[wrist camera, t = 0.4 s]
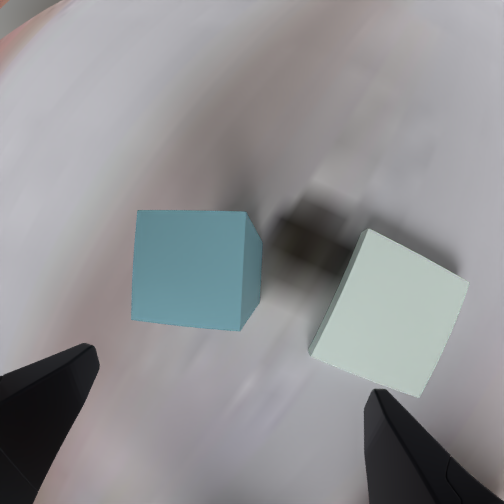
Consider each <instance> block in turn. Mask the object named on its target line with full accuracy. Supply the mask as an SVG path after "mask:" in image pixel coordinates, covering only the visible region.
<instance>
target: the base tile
mask: <svg viewBox="0 0 504 504" xmlns="http://www.w3.org/2000/svg"><path fill="white" fill-rule="evenodd" d="M469 284H470V283H469V282H468V281H466V280H464V279H462V278H461V277H459V276H457V275H456V274H454V273H452V272H450V271H449V270H447V269H445V268H443V267H441V266H440V265H438V264H436V263H434V262H432V261H431V260H429V259H427V258H425V257H423V256H421V255H419V254H418V253H416V252H414V251H412V250H410V249H408V248H406V247H404V246H402V245H401V244H399V243H397V242H395V241H393V240H391V239H389V238H387V237H385V236H383V235H381V234H379V233H377V232H375V231H373V230H371V229H369V228H368V229H366V230H364V231H363V232H361V235H360V237H359V240H358V242H357V244H356V247H355V249H354V252H353V254H352V257H351V259H350V261H349V264H348V266H347V268H346V271H345V273H344V275H343V278H342V280H341V282H340V284H339V287H338V289H337V291H336V293H335V295H334V298H333V300H332V302H331V304H330V306H329V308H328V311H327V313H326V315H325V317H324V319H323V321H322V323H321V325H320V327H319V329H318V331H317V333H316V335H315V337H314V339H313V341H312V343H311V345H310V347H309V349H308V351H309V354H310V357H312V358H314V359H317V360H319V361H322V362H324V363H326V364H329V365H331V366H334V367H336V368H339V369H341V370H344V371H346V372H349V373H351V374H354V375H357V376H359V377H362V378H364V379H367V380H370V381H372V382H375V383H378V384H380V385H383V386H386V387H389V388H391V389H394V390H397V391H400V392H403V393H405V394H408V395H411V396H414V397H417V398H419V397H420V395H421V393H422V392H423V390H424V388H425V386H426V384H427V382H428V380H429V379H430V377H431V375H432V373H433V371H434V369H435V367H436V365H437V363H438V360H439V358H440V356H441V354H442V352H443V350H444V348H445V345H446V343H447V341H448V339H449V336H450V334H451V332H452V329H453V327H454V324H455V322H456V319H457V317H458V314H459V312H460V309H461V306H462V304H463V301H464V298H465V295H466V293H467V290H468V287H469Z"/></svg>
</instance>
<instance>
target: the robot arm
mask: <svg viewBox="0 0 504 504" xmlns="http://www.w3.org/2000/svg"><path fill="white" fill-rule="evenodd" d="M99 367H100V364H99V360H98V356H97V352H96V349H95V347H94V346H93V345H90V344H87V343H82V344H79V345H77V346H74V347H72V348H70V349H67V350H65V351H62V352H60V353H57V354H55V355H52V356H50V357H47V358H45V359H42V360H40V361H37V362H35V363H32V364H30V365H27V366H25V367H22V368H20V369H17V370H15V371H12V372H10V373H7V374H4V375H3V376H0V504H33V502H34V500H35V498H36V496H37V493H38V491H39V489H40V487H41V485H42V483H43V481H44V479H45V477H46V475H47V473H48V471H49V469H50V467H51V465H52V463H53V461H54V459H55V457H56V455H57V453H58V451H59V449H60V447H61V445H62V443H63V442H64V440H65V438H66V436H67V434H68V432H69V430H70V429H71V427H72V425H73V423H74V421H75V419H76V418H77V416H78V414H79V412H80V411H81V409H82V407H83V405H84V403H85V401H86V399H87V396H88V394H89V392H90V389H91V387H92V385H93V382H94V380H95V378H96V376H97V373H98V371H99ZM364 454H365V464H366V473H367V482H368V492H369V504H504V501H503V500H501V499H500V498H499V497H497V496H496V495H495V494H493V493H492V492H491V491H490V490H488V489H487V488H486V487H485V486H483V485H482V484H481V483H480V482H478V481H477V480H476V479H475V478H474V477H473V476H471V475H470V474H469V473H468V472H467V471H466V470H465V469H464V468H463V467H462V466H461V465H460V464H459V463H458V462H457V461H456V460H455V459H454V458H453V457H450V454H449V453H448V452H447V451H446V450H445V449H444V448H443V447H442V446H441V445H440V444H439V443H438V442H437V441H436V440H435V439H434V438H433V437H432V436H431V435H430V434H429V433H428V432H427V431H426V430H425V429H424V428H423V427H422V426H421V424H420V423H419V422H418V421H417V420H416V419H415V418H414V417H413V416H412V415H411V414H410V413H409V412H408V411H407V410H406V409H405V408H404V407H403V406H402V405H401V404H400V403H399V402H398V401H397V400H396V399H395V398H394V397H393V396H392V395H391V394H390V393H389V392H388V391H387V390H386V389H373V390H372V392H371V394H370V396H369V398H368V401H367V403H366V405H365V408H364Z"/></svg>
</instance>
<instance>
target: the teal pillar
mask: <svg viewBox="0 0 504 504" xmlns="http://www.w3.org/2000/svg"><path fill="white" fill-rule="evenodd" d="M262 245H263V243H262V241H261V239H260V237H259V235H258V233H257V232H256V230H255V228H254V226H253V224H252V222H251V220H250V218H249V216H248V214H247V213H246V212H240V211H192V210H138V211H137V221H136V232H135V244H134V259H133V277H132V309H131V320H136V321H144V322H152V323H160V324H168V325H177V326H186V327H196V328H206V329H217V330H229V331H241V329H242V328H243V326H244V325H245V323H246V322H247V320H248V319H249V317H250V316H251V314H252V313H253V312H254V310H255V309H256V307H257V306H258V304H259V303H260V286H261V266H262Z"/></svg>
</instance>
